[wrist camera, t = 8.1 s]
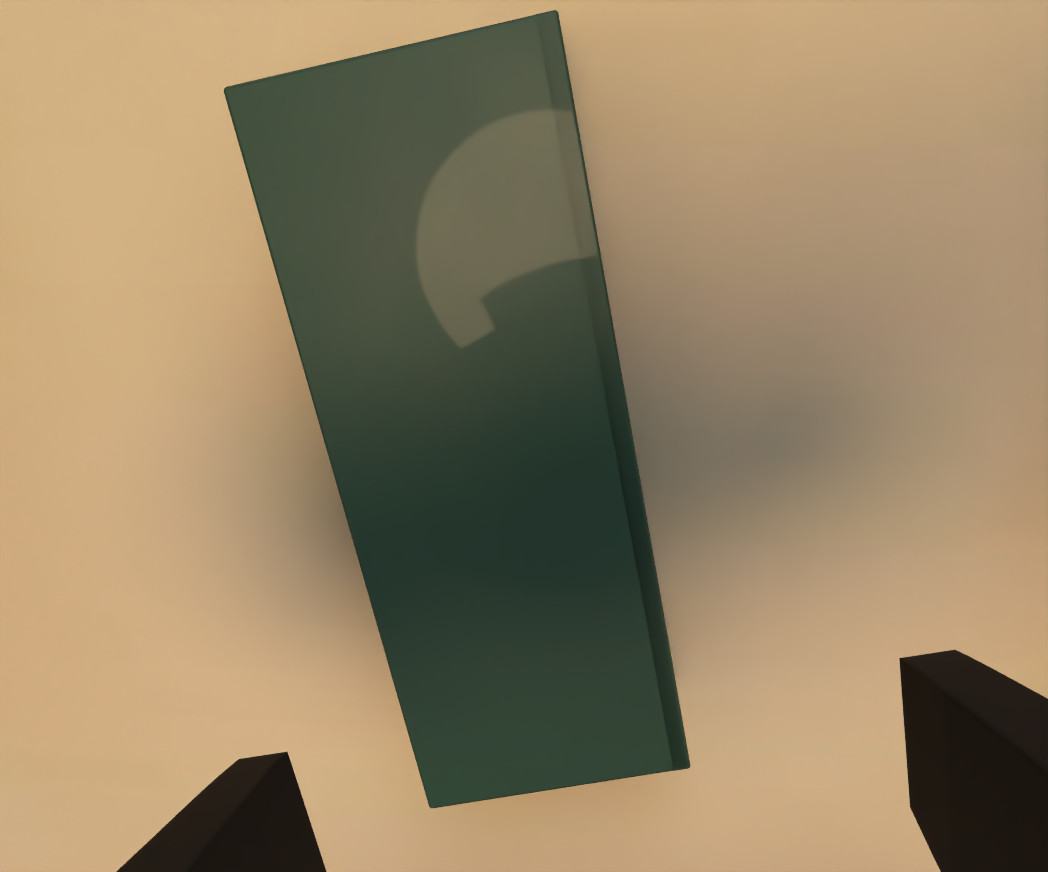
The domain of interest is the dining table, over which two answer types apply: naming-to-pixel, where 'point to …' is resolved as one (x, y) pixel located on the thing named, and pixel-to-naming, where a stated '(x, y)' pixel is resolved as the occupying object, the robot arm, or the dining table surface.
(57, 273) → the dining table surface
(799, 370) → the dining table surface
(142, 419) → the dining table surface
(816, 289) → the dining table surface
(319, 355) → the book
